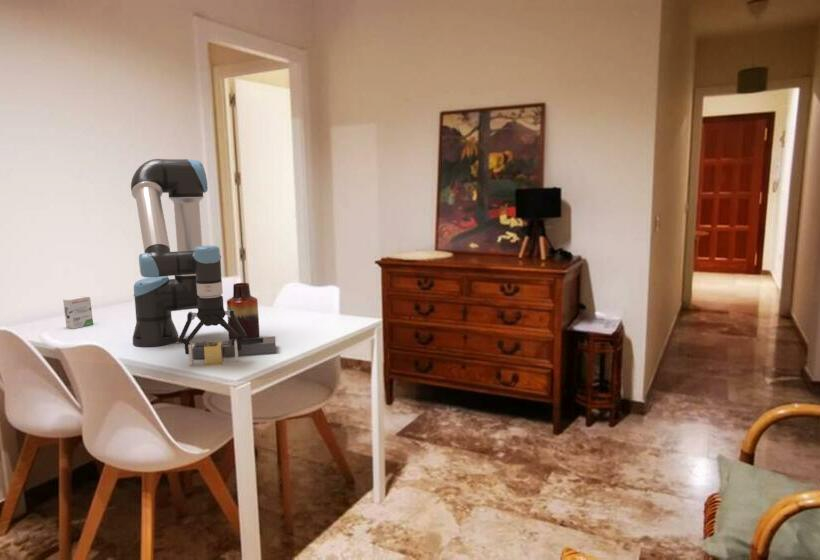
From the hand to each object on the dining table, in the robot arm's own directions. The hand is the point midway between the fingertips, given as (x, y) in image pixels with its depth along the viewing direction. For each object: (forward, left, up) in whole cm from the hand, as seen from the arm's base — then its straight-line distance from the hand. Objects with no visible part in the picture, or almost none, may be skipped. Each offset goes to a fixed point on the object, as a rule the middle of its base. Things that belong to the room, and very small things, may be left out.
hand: (214, 362), depth 181 cm
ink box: (-58, +68, 0) cm, 90 cm away
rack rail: (+6, +10, 0) cm, 12 cm away
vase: (+8, +28, 0) cm, 29 cm away
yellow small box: (0, 0, 0) cm, 0 cm away
